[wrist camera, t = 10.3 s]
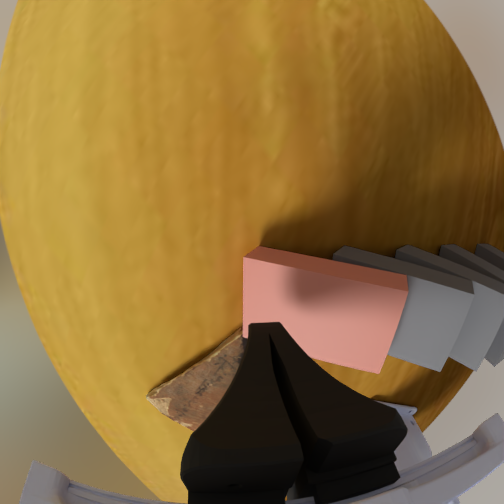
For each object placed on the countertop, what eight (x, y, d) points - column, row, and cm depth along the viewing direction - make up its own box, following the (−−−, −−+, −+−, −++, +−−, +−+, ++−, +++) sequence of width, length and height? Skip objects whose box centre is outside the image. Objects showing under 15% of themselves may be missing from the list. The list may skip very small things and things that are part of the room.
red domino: (258, 245, 15) (406, 275, 12) (256, 321, 17) (382, 353, 14) (243, 256, 14) (408, 291, 11) (242, 336, 16) (379, 373, 12)
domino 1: (344, 245, 16) (472, 280, 11) (332, 316, 18) (443, 353, 13) (333, 254, 14) (474, 294, 10) (321, 329, 16) (440, 372, 12)
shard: (245, 317, 18) (247, 334, 16) (309, 373, 20) (314, 389, 18) (144, 385, 19) (140, 402, 18) (210, 425, 22) (210, 441, 20)
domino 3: (454, 244, 17) (535, 290, 9) (437, 302, 18) (505, 357, 11) (441, 245, 16) (528, 296, 9) (424, 306, 18) (494, 366, 11)
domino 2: (407, 244, 16) (513, 287, 10) (391, 309, 18) (482, 356, 12) (396, 249, 15) (511, 298, 9) (379, 319, 17) (476, 371, 11)
